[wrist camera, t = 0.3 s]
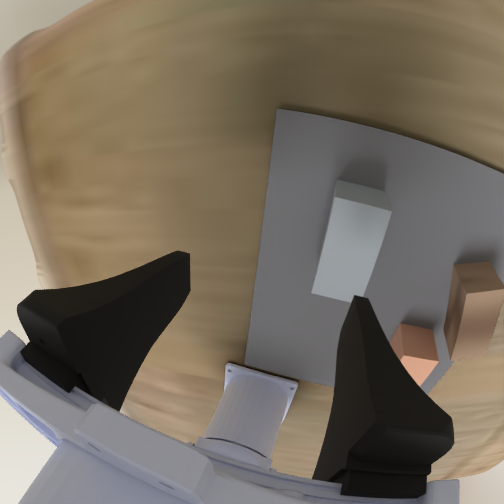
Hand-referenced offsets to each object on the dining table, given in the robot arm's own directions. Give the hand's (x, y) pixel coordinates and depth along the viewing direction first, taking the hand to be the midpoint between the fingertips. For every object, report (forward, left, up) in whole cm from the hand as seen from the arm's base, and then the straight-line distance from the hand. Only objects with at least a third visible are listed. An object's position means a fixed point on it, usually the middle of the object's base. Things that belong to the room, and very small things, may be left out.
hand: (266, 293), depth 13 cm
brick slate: (0, -4, -9) cm, 10 cm away
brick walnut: (-3, -15, -9) cm, 17 cm away
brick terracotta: (-10, -12, -9) cm, 18 cm away
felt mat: (-5, -8, -9) cm, 13 cm away
